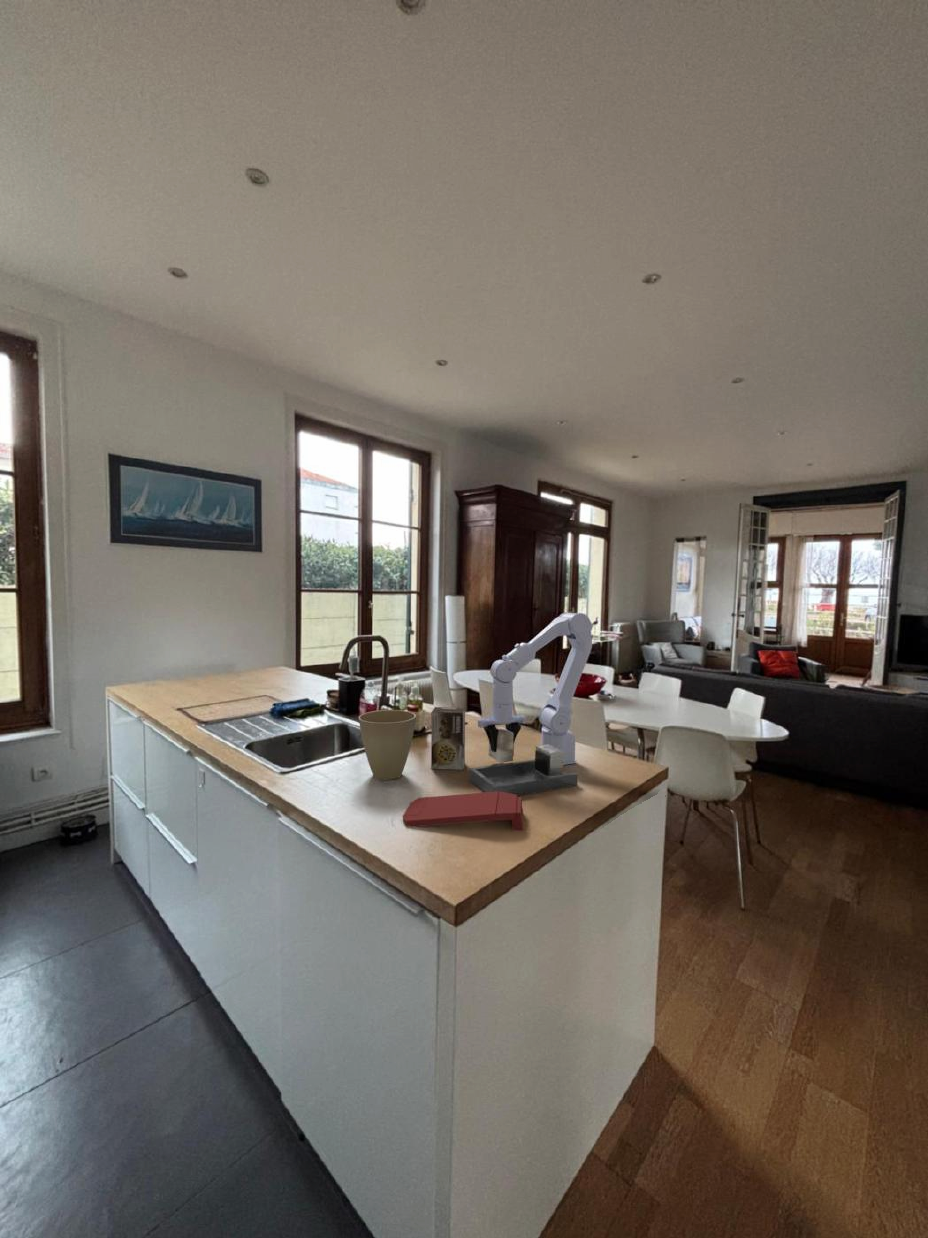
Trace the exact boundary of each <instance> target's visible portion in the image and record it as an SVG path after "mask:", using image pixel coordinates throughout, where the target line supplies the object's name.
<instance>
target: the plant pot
mask: <svg viewBox="0 0 928 1238" xmlns="http://www.w3.org/2000/svg"><path fill="white" fill-rule="evenodd" d="M416 717H417V715H416V713H414V712H412V711H408V710H399V709H386V710H385V709H384V710H383V709H382V710H381V709H380V710H374V711H373V710H372V711H368V712H364V713H362V714H360V715H359V716H358V722H359V728H360V729H359V730H360V735H361V736H360V737H361V740H362V744H363V748H364V752H365V755H366V759H367V763H368V766H369V768H370V770H371V774H372V775H373V778H375V779H377V780H382V781H388V780H389V781H390V780H396V779H398V778H400V777H402V774H403V772H404V769H405V767H406V764H407V760H408V758H409V757H408V756H409V754H410V750H411V746H412V742H413V736H414V732H415V731H414V730H415V726H416V724H415V723H416V719H417V718H416Z"/></svg>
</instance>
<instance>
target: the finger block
mask: <svg viewBox="0 0 928 1238" xmlns="http://www.w3.org/2000/svg"><path fill="white" fill-rule="evenodd" d="M495 727H496V729H498V730H499V732H498V736H497V750H496V752H493V751H491V747H490V743H489V742H488V757H490V758H492V759H493V760H495V761H496V762H498V763H499V764H504V763H511V762H514V752H515V750H514V749H515V742H514V736H513V732H511V731H509V730H507V729H506V727H502V726H495Z"/></svg>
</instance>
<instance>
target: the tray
mask: <svg viewBox="0 0 928 1238" xmlns="http://www.w3.org/2000/svg"><path fill="white" fill-rule="evenodd" d="M534 751H535V752H534V753H535V754H534V759H527V760H520V761H511V762H504V763H499V764H498V763H497V764H492V765H483V766H478V767H477V766H476V767H469V768H468V769H469V771H468V772H469V773H468V775H469V776H468V778H469V779H468V780H469V781H470V782H471V783H473V784H474V785H475V786H477V788H479V789H480V790H481V791H483V792H495V791H501V792H506V793H510V794H515V795H517V797H519V796H525V795H529V794H530V795H531V794H537V793H542V792H549V791H552V790H558V789H559V788H560V789H565V788H570V787H576V786H578V780H579V779H578V776H579V774H578V773H576V772H570V773H564V765H563V756H564V752H563V751H561V750H559V749H557V748H555V747H553V746H551V745H549V744H547V745H541V744H540V745H539V744H538V745H535V750H534ZM560 789H559V790H560Z"/></svg>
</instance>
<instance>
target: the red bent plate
mask: <svg viewBox="0 0 928 1238" xmlns="http://www.w3.org/2000/svg"><path fill="white" fill-rule="evenodd" d="M508 820H511V823H512V830H514V831H524V807H523V802H522V797H521V796H520V797H519V796H517V795H515V794H510V793H506V792H501V791H495V792H484V791H483V792H475V793H461V794H449V795H448V794H447V795H439V796H438V795H436V796H425V797H418V798H416V799H414V800H413V801H410V802H409V805H408V806H407V807H406V810H405V811H404V812H403V815H402V821H403V822H405V823H404V824H405V825H406V827H413V826H415V827H425V826H426V827H427V826H439V825H451V824H464V823H466V824H467V823H476V822H477V823H478V822H491V821H493V822H494V821H508Z"/></svg>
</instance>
